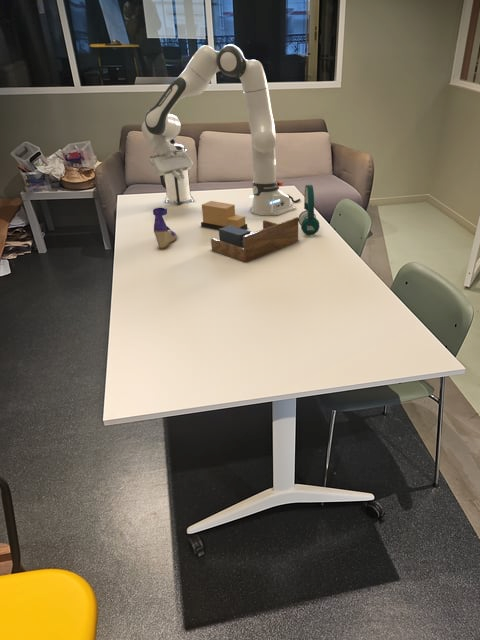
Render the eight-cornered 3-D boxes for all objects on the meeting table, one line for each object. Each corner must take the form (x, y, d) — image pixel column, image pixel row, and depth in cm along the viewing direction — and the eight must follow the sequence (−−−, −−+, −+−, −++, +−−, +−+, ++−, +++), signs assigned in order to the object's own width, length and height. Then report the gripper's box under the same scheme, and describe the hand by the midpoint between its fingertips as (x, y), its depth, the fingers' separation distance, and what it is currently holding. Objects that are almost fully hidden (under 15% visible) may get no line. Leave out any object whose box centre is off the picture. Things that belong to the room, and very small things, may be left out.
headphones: (315, 226, 232) (316, 180, 220) (319, 237, 220) (321, 189, 208) (297, 226, 231) (298, 181, 220) (301, 237, 219) (301, 189, 208)
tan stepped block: (201, 226, 231) (199, 204, 225) (211, 222, 237) (209, 200, 231) (237, 233, 223) (236, 210, 217) (247, 228, 229) (246, 206, 223)
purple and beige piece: (181, 234, 222) (176, 199, 214) (167, 250, 206) (162, 213, 198) (163, 233, 223) (158, 198, 214) (148, 249, 207) (142, 212, 198)
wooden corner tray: (211, 250, 206) (209, 226, 200) (264, 231, 226) (264, 208, 220) (245, 262, 195) (244, 236, 190) (298, 241, 215) (298, 217, 210)
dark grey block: (218, 246, 209) (216, 228, 205) (230, 242, 214) (229, 224, 209) (252, 258, 199) (251, 239, 195) (264, 253, 203) (263, 234, 199)
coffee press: (195, 196, 273) (189, 136, 255) (192, 205, 260) (185, 141, 242) (163, 197, 272) (154, 136, 255) (158, 205, 259) (149, 141, 242)
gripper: (149, 152, 225) (166, 178, 225) (185, 145, 238) (200, 171, 238) (145, 161, 230) (161, 187, 230) (180, 154, 243) (195, 179, 243)
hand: (181, 179), depth 234 cm, fingers closed
